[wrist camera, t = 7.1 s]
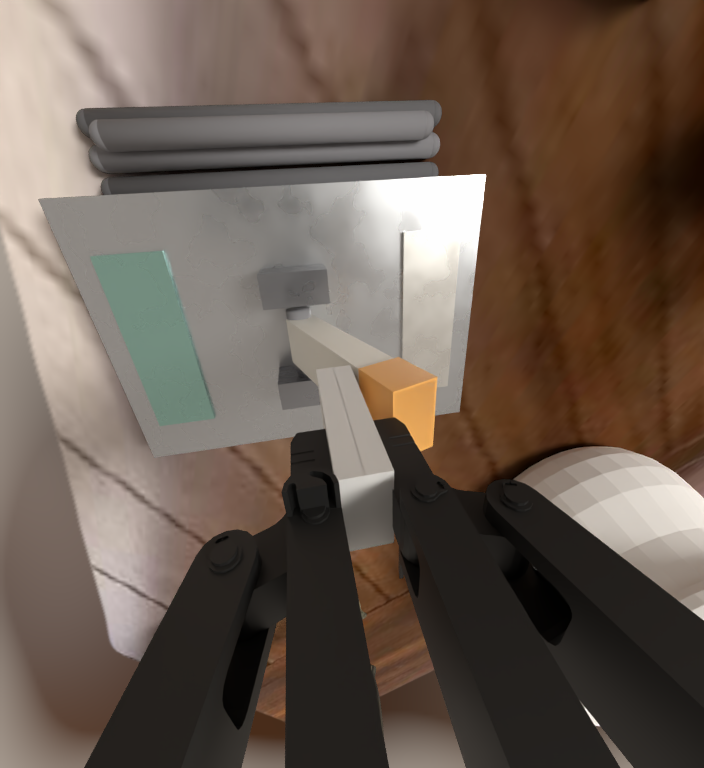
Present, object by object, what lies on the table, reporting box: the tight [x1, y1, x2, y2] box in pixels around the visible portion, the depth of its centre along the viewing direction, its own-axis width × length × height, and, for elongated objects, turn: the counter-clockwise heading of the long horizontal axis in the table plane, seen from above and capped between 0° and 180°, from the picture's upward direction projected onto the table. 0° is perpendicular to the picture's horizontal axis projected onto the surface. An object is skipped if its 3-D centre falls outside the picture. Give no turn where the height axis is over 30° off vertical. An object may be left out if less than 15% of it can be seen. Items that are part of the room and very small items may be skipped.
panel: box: [38, 174, 486, 458], centre depth 23 cm, size 18×26×6 cm
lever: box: [286, 306, 437, 451], centre depth 17 cm, size 4×2×13 cm, turn 4°
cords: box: [76, 100, 442, 195], centre depth 19 cm, size 5×21×3 cm, turn 94°
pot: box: [513, 446, 704, 726], centre depth 35 cm, size 26×24×18 cm
